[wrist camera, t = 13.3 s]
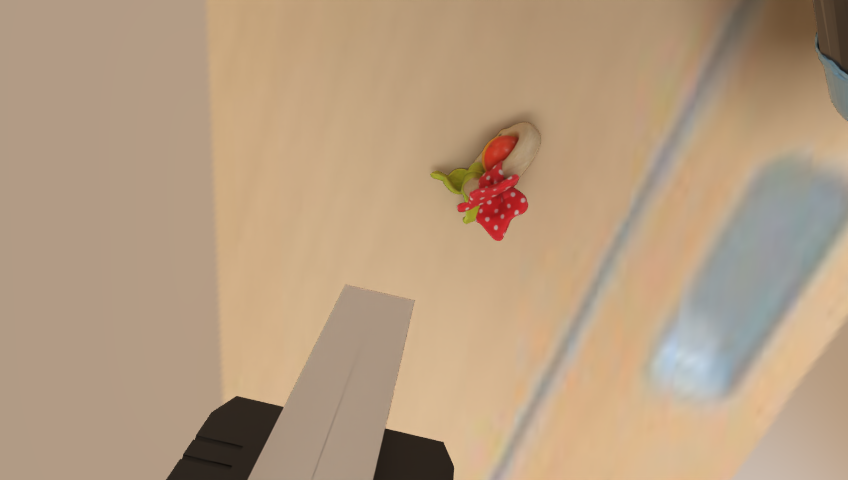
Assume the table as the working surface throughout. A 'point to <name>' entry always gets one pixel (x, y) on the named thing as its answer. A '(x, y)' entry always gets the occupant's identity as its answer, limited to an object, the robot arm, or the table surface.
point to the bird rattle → (495, 179)
